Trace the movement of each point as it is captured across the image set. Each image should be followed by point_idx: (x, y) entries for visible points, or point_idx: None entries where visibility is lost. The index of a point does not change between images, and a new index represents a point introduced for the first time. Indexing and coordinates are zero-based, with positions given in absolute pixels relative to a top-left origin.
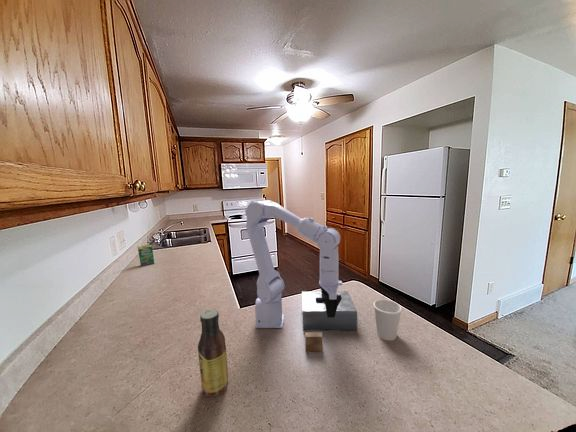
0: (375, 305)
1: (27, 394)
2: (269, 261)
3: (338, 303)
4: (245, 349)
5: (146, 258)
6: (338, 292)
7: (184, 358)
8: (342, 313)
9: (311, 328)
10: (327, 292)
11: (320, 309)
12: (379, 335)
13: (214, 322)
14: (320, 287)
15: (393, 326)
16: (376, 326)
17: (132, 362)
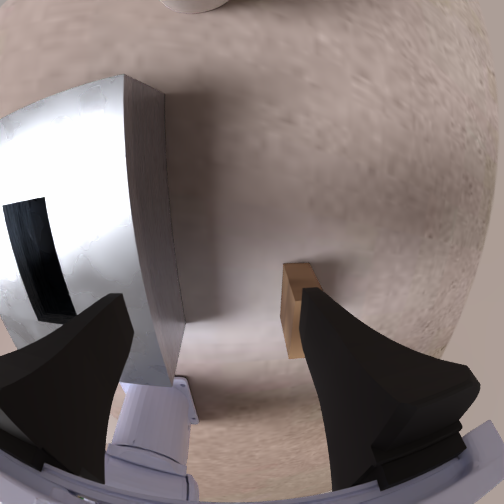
0: None
1: (320, 492)
2: None
3: (421, 357)
4: (278, 422)
5: (79, 496)
6: None
7: (292, 462)
8: (133, 176)
9: (179, 301)
10: (90, 382)
11: (134, 316)
12: (211, 7)
13: None
14: (103, 457)
15: None
16: (181, 2)
17: (292, 481)
